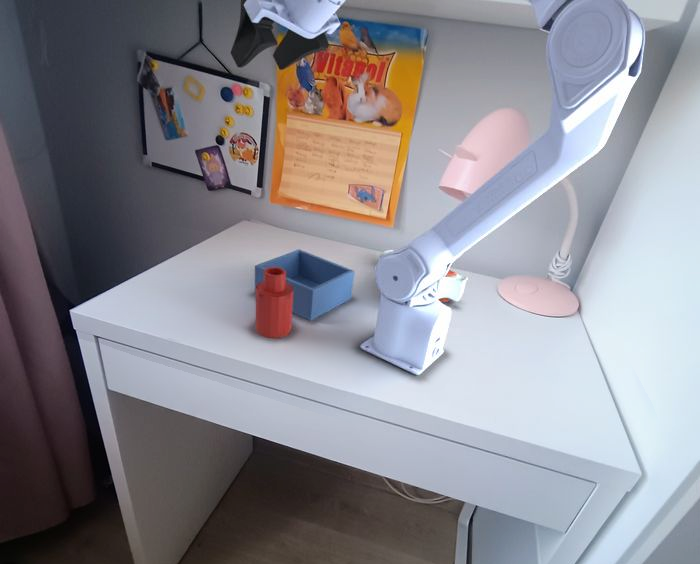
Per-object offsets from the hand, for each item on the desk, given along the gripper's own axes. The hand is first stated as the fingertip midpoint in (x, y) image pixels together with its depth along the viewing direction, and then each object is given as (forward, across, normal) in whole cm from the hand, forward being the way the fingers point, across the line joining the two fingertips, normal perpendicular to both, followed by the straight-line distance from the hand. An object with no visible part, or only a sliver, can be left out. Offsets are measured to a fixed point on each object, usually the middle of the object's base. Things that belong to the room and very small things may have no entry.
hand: (257, 61), depth 61 cm
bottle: (+12, +8, +32) cm, 35 cm away
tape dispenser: (+6, -20, +37) cm, 43 cm away
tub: (+15, -2, +30) cm, 33 cm away
